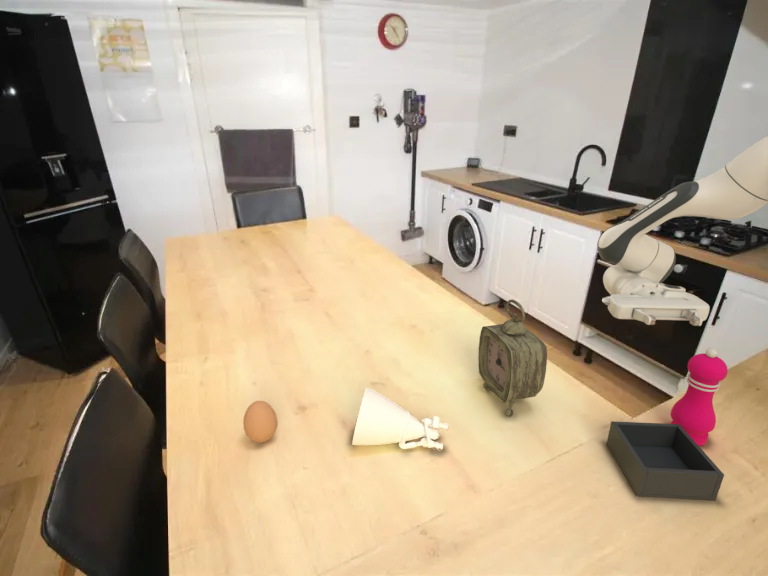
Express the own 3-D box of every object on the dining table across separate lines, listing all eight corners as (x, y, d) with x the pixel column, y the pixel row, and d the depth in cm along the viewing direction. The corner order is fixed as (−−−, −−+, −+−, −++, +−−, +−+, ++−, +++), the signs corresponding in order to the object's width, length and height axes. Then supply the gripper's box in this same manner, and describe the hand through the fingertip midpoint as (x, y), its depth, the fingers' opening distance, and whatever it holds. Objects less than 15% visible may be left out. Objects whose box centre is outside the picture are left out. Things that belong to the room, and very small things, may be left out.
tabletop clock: (476, 385, 102) (482, 292, 93) (508, 380, 104) (518, 287, 95) (506, 422, 88) (517, 317, 80) (543, 415, 90) (557, 311, 82)
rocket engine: (456, 402, 80) (367, 380, 80) (447, 465, 74) (351, 440, 75) (445, 414, 90) (365, 394, 91) (436, 469, 84) (352, 448, 85)
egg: (244, 434, 87) (238, 398, 84) (276, 425, 89) (271, 389, 86) (248, 454, 81) (242, 416, 78) (282, 444, 84) (277, 407, 80)
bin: (673, 447, 80) (679, 424, 78) (715, 500, 69) (724, 474, 67) (606, 444, 82) (611, 421, 80) (636, 496, 70) (643, 470, 68)
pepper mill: (696, 453, 79) (724, 362, 72) (658, 430, 85) (681, 345, 78) (717, 440, 82) (745, 352, 75) (678, 419, 88) (702, 336, 81)
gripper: (601, 285, 101) (627, 307, 88) (689, 286, 99) (729, 309, 86) (596, 309, 103) (621, 334, 90) (683, 310, 101) (721, 336, 88)
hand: (675, 322), depth 88 cm, fingers open, 8 cm apart
